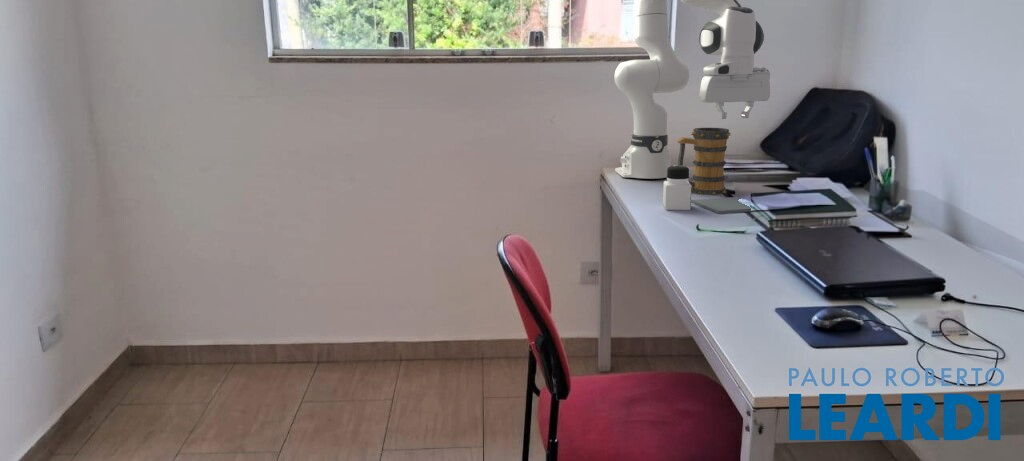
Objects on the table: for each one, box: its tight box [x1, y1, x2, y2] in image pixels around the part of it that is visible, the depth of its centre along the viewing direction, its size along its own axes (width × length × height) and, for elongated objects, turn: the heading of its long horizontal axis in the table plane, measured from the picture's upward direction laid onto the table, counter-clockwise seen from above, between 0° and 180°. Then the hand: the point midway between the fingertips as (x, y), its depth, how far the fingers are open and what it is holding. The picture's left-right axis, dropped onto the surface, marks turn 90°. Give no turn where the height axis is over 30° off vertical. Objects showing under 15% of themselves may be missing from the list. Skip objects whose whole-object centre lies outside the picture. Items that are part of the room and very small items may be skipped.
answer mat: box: [691, 196, 752, 215], centre depth 218 cm, size 16×16×1 cm
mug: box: [676, 127, 732, 196], centre depth 235 cm, size 13×17×20 cm
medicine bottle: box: [662, 164, 693, 211], centre depth 216 cm, size 7×7×12 cm
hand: (733, 118), depth 212 cm, fingers open, 6 cm apart
